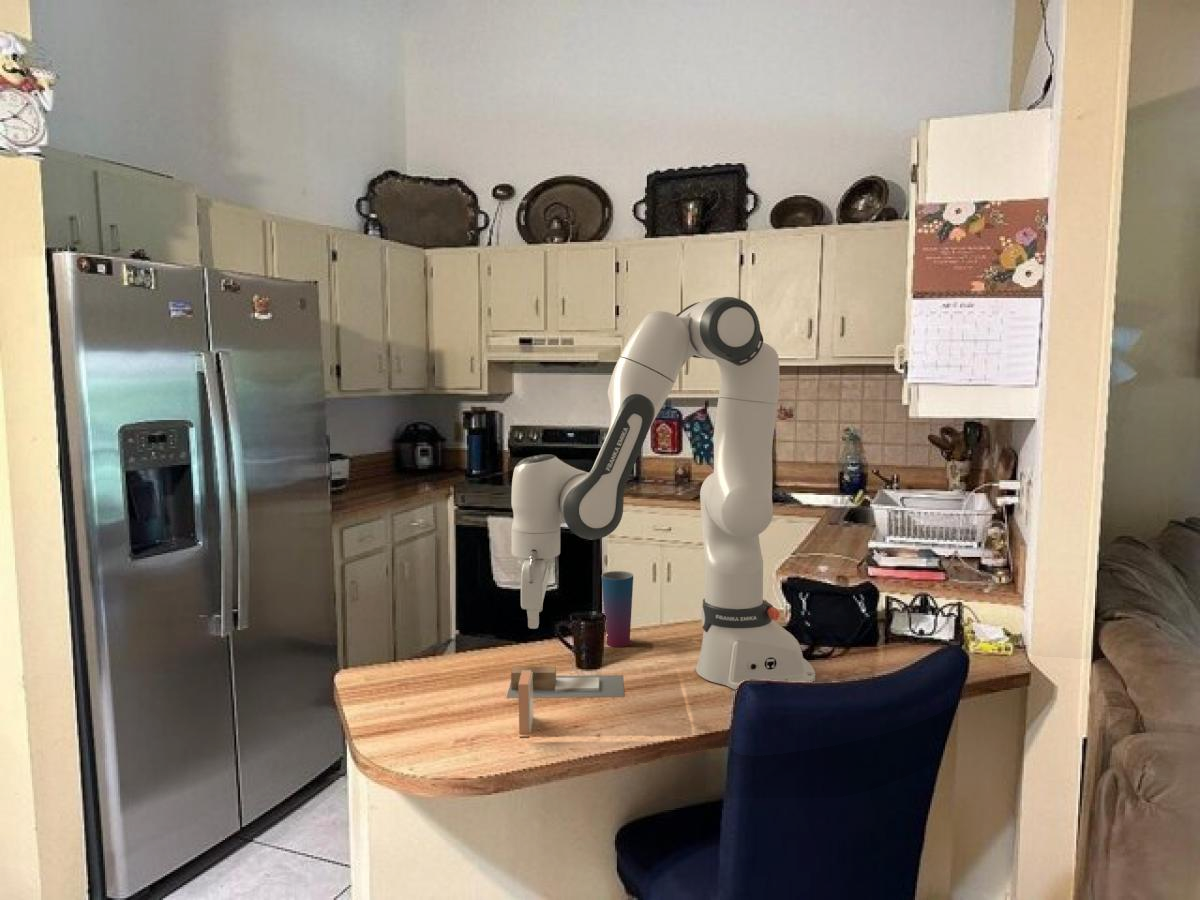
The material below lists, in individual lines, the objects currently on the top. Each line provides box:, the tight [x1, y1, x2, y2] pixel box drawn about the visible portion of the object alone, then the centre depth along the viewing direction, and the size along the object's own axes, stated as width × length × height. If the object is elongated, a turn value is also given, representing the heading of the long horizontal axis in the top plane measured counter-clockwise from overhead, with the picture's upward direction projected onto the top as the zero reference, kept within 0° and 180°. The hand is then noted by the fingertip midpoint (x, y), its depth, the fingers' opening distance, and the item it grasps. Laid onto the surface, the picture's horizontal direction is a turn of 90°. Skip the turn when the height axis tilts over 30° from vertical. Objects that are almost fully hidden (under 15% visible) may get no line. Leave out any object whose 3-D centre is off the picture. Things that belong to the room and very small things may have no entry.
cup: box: [601, 570, 634, 648], centre depth 174 cm, size 7×7×15 cm
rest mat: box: [506, 674, 625, 699], centre depth 150 cm, size 21×10×1 cm, turn 90°
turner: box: [510, 665, 599, 692], centre depth 149 cm, size 16×5×3 cm, turn 90°
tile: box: [518, 670, 534, 739], centre depth 133 cm, size 2×6×9 cm, turn 0°
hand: (535, 618), depth 148 cm, fingers open, 8 cm apart
